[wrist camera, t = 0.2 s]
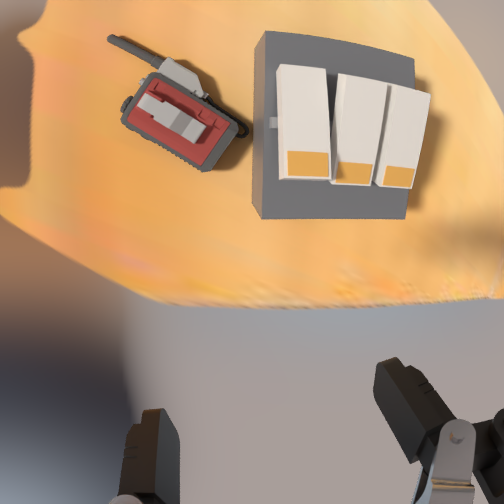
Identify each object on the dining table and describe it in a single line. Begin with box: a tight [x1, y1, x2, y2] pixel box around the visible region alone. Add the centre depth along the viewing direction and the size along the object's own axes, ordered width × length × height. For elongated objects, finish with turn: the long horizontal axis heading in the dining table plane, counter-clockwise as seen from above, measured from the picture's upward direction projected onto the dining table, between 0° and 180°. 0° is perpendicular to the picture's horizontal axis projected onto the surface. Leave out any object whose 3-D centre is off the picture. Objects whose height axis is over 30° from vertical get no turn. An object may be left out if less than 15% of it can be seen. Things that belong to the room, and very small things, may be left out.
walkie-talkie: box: [107, 34, 249, 172], centre depth 29 cm, size 9×4×20 cm
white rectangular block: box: [276, 64, 331, 181], centre depth 25 cm, size 10×4×2 cm, turn 179°
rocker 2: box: [372, 83, 431, 189], centre depth 26 cm, size 10×4×2 cm, turn 179°
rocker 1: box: [329, 73, 388, 186], centre depth 26 cm, size 10×4×2 cm, turn 179°
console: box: [252, 31, 415, 219], centre depth 30 cm, size 18×16×8 cm
